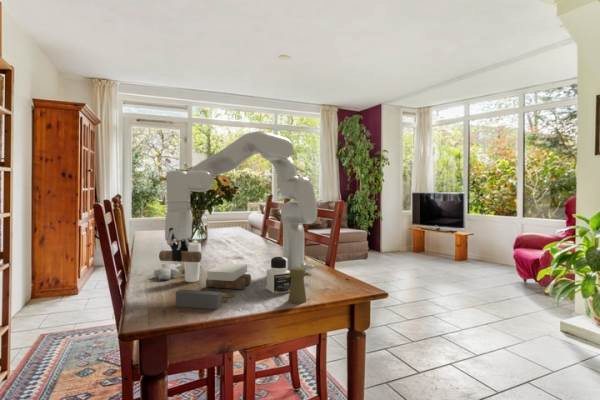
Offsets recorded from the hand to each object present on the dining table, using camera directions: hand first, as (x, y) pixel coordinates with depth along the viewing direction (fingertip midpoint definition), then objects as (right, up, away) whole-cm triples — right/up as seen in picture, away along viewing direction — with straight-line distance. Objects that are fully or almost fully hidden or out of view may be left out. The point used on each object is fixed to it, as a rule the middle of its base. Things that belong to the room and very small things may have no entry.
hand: (180, 259), depth 119 cm
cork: (+40, -13, -4) cm, 43 cm away
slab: (+14, -8, +11) cm, 20 cm away
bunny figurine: (-14, -12, +26) cm, 32 cm away
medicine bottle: (+34, -13, +7) cm, 37 cm away
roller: (0, -1, 0) cm, 1 cm away
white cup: (-2, -12, +19) cm, 22 cm away
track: (+13, -12, +6) cm, 19 cm away
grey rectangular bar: (+9, -13, -11) cm, 19 cm away
